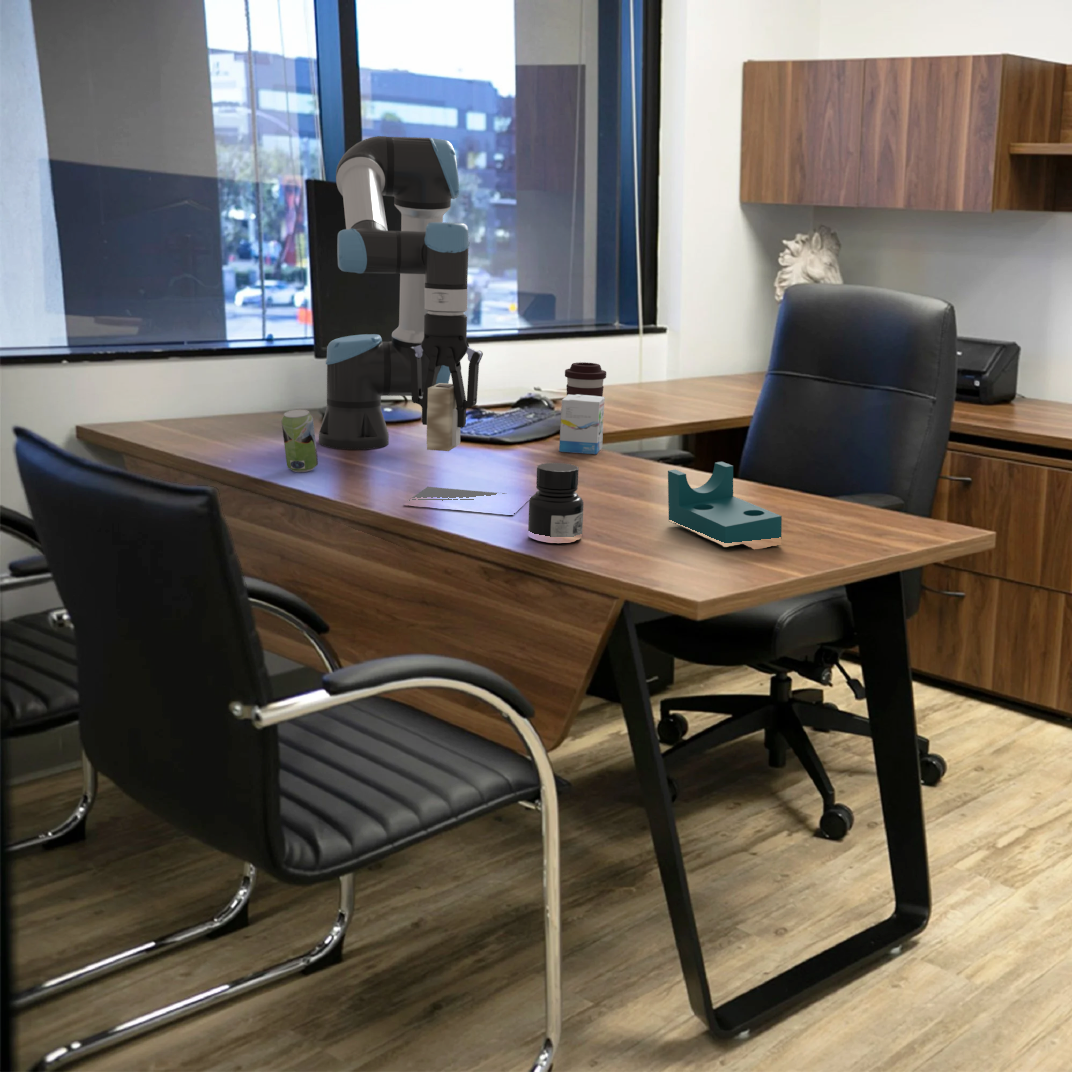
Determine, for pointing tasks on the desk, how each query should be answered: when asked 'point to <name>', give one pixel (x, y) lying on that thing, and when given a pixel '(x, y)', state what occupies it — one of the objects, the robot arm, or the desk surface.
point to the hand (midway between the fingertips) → (443, 443)
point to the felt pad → (449, 493)
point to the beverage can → (299, 440)
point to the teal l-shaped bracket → (719, 508)
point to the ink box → (581, 424)
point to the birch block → (440, 417)
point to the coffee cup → (585, 379)
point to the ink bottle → (556, 502)
